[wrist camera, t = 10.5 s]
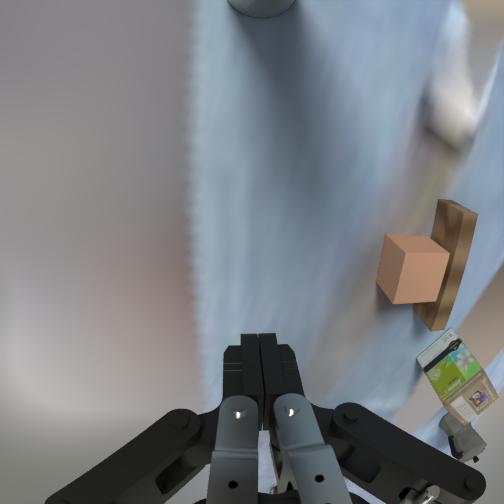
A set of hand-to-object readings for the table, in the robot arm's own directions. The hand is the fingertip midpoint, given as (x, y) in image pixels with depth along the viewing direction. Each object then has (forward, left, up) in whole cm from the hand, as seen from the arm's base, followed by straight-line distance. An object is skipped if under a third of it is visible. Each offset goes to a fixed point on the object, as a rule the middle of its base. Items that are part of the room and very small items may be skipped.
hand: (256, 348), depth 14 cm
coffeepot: (+60, +59, -31) cm, 90 cm away
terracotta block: (+10, +26, -31) cm, 42 cm away
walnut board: (+10, +32, -31) cm, 46 cm away
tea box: (+34, +44, -31) cm, 64 cm away
